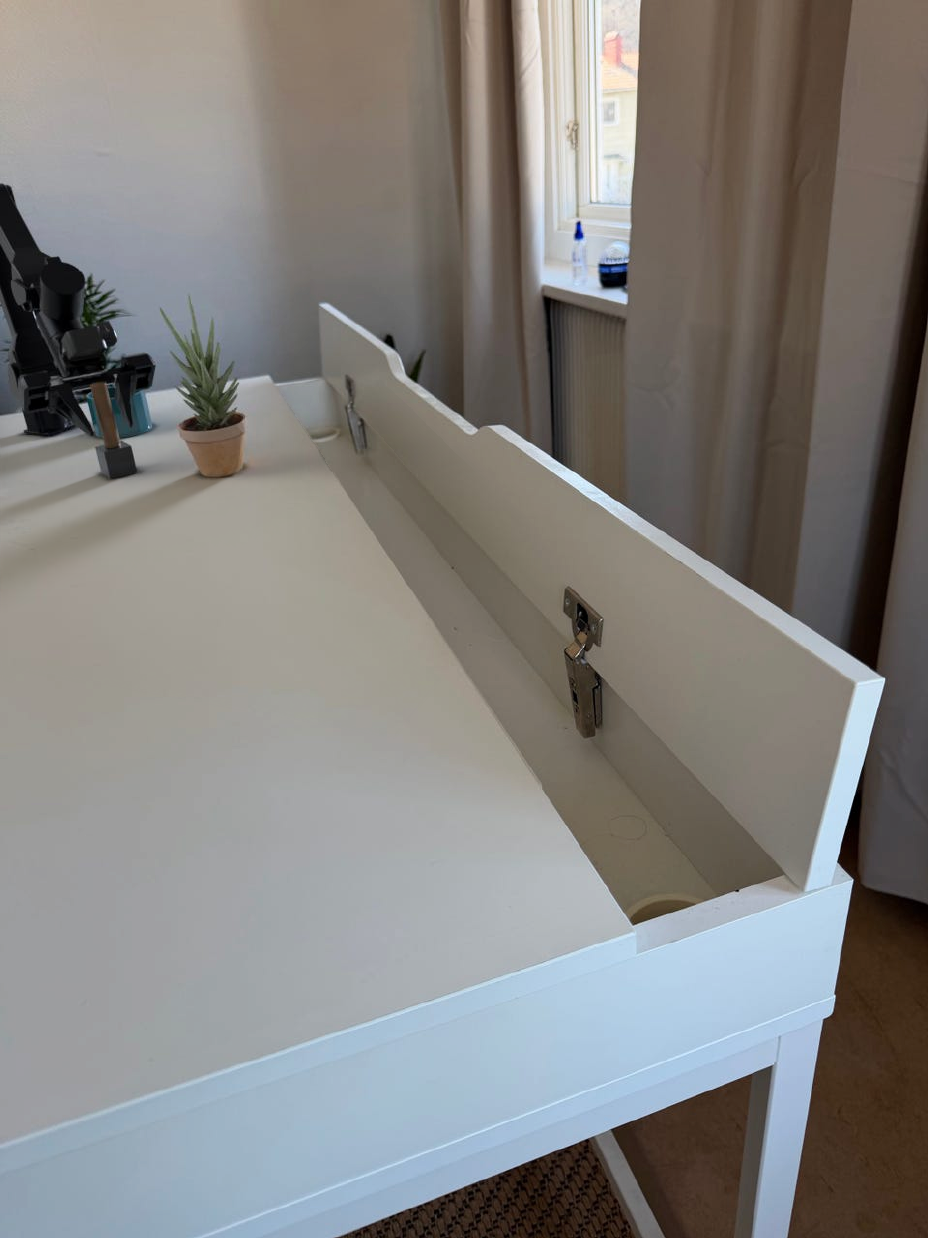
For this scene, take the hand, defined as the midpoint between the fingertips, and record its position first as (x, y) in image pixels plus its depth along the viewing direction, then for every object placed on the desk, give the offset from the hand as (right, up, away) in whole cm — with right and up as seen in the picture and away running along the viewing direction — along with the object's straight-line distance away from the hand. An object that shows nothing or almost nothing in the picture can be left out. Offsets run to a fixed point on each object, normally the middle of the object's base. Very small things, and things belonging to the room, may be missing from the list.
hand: (112, 430), depth 134 cm
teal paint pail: (-7, +5, +25) cm, 26 cm away
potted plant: (+15, -6, +2) cm, 16 cm away
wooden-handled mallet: (0, -5, +4) cm, 7 cm away
